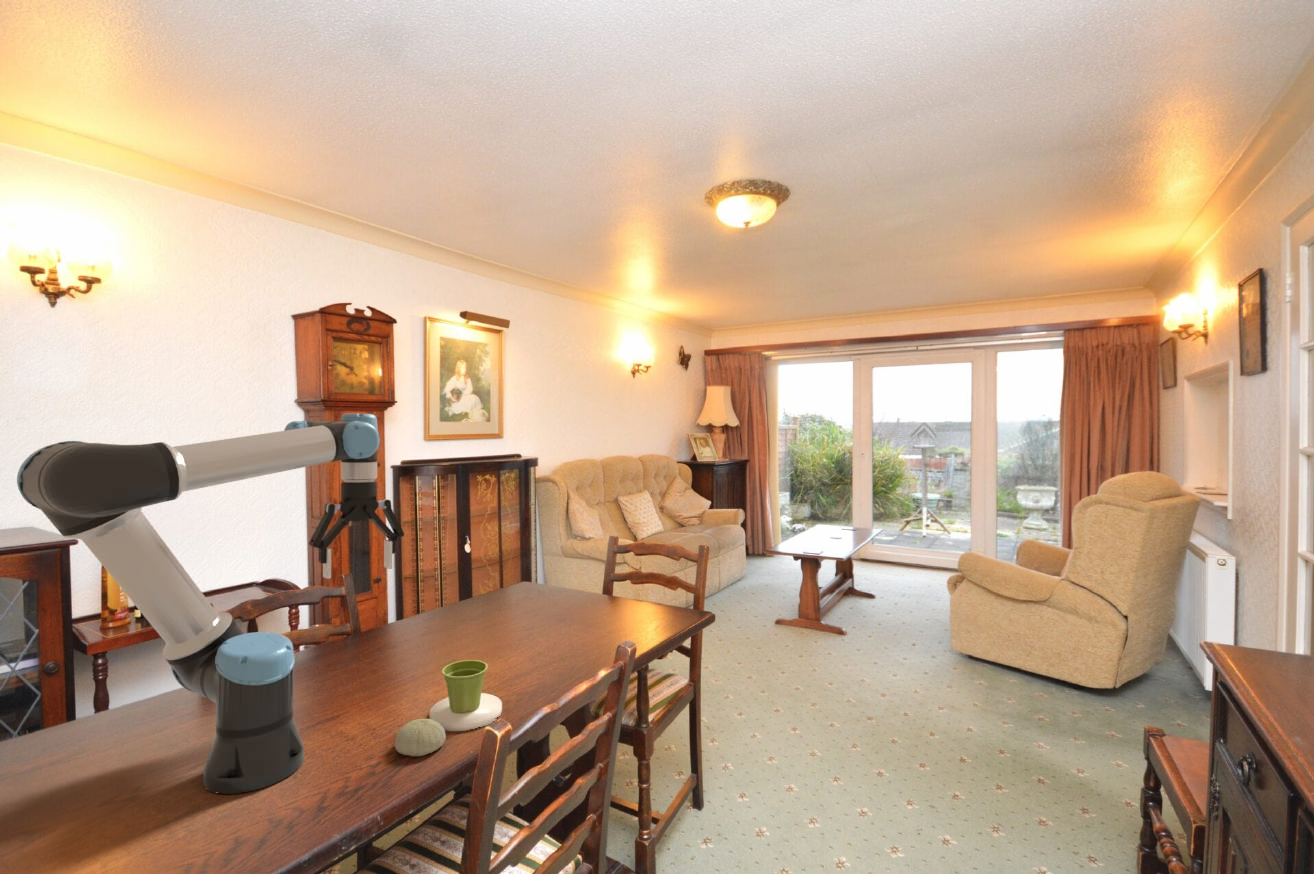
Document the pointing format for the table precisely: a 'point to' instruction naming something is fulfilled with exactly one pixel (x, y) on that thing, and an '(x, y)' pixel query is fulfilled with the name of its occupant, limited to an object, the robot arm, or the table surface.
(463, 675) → the plant pot
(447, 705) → the white flat rounded piece
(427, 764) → the table surface
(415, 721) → the sea urchin shell
